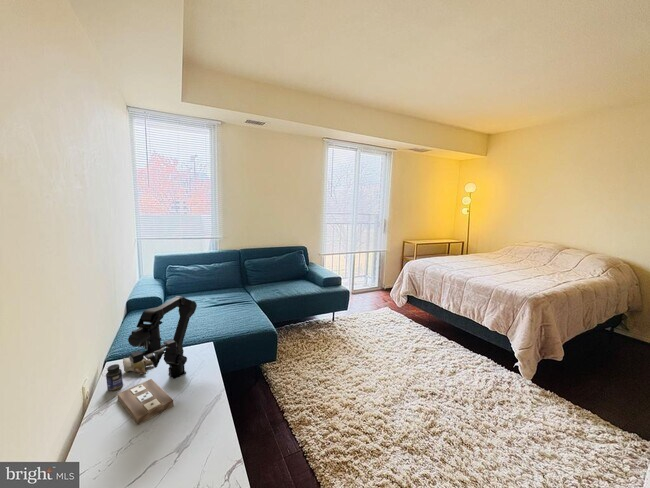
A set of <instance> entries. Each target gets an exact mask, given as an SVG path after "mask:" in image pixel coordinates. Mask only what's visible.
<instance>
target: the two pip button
mask: <svg viewBox="0 0 650 488" xmlns="http://www.w3.org/2000/svg"><path fill="white" fill-rule="evenodd" d="M144 390H146V388H145V387H144V386H143V385H139V386H137V387H135V388H133V389H130V392H131V393H132V394H133V395H135V394H137V393H139V392H141V391H144Z"/></svg>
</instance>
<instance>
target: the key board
mask: <svg viewBox="0 0 650 488" xmlns="http://www.w3.org/2000/svg"><path fill="white" fill-rule="evenodd" d="M139 385H143V386H144V387H145V388H146V390H144V391H141V392H139V393H137V394H135V395H133V394H132V393H131V392H130V389H133V388H135V387H137V386H139ZM148 391H149V392H150V393H151V394H152V395H153V397H151V398H149V399H147V400H145V401H143V402H141V403H140V402H139V401H138V400H137V396H140V395H142V394H144V393H146V392H148ZM154 399H157V400H158V401H159V402H160V403H161V405H159V406H157V407H155V408H153V409H151V410H149V411H147V410H146V409H145V408H144V406H143V405H144V404H146V403H148V402H150V401H152V400H154ZM117 400H118V401H119V402H120V404H121V406H123V408H124V409H125V410H126V412H127V413H128V414H129V416H130V417H131V418H132V420H133V421H134V422H135V423H136V425H138V426H139V425H141V424H143V423H144V422H146V421H149V420H150V419H152V418H153V417H155V416H157V415H159V414H161V413H163V412H165V411H167V410H169V409H170V408H172V407H174V406H175V404H174V399H173V398H172V397H171V396H170V395H169V394H168V393H167V392H166V391H165V390H164V389H162V388H161V387H160V386H159V385H158V384H157V382H155V381H154V380H153V379H152V378H150V379H148V380H146V381H144V382H141V383H139V384H136V385H133V386H131V387H130V388H127V389H126V390H125V389H124V390H123V391H121V392H118V393H117Z"/></svg>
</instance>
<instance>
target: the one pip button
mask: <svg viewBox="0 0 650 488" xmlns="http://www.w3.org/2000/svg"><path fill="white" fill-rule="evenodd" d="M159 405H161V403H160V402H159V401H158V400H157V399H154V400H152V401H150V402H148V403H146V404H144V405H143V406H144V408H145V409H146V410H147V411H149V410H151V409H153V408H155V407H157V406H159Z"/></svg>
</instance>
